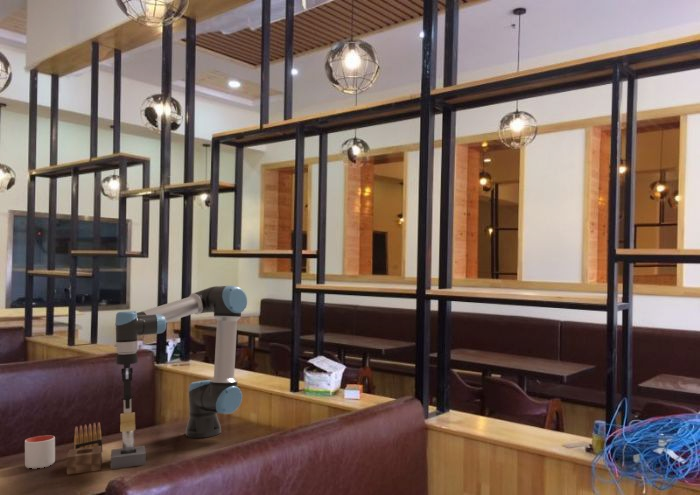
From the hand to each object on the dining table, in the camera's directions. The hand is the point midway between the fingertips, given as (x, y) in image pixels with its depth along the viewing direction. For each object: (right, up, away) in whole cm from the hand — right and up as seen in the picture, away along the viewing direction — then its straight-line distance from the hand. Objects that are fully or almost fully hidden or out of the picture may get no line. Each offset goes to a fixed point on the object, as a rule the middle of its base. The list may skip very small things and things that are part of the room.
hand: (127, 416), depth 225 cm
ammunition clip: (-21, -19, +14) cm, 32 cm away
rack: (-14, -18, -3) cm, 23 cm away
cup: (-33, -19, +1) cm, 38 cm away
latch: (+2, -3, -6) cm, 6 cm away
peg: (0, -18, +2) cm, 18 cm away
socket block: (0, -18, +2) cm, 18 cm away
